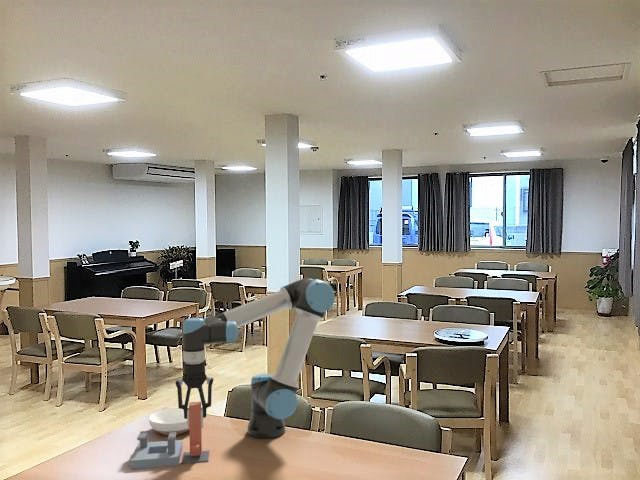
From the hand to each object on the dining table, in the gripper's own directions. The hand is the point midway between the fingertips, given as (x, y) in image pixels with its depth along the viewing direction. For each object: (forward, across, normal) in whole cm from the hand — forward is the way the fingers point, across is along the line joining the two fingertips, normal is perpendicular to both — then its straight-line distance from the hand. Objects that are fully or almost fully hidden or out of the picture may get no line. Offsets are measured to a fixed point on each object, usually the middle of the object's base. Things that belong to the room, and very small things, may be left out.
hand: (195, 426), depth 204 cm
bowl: (+11, -11, +30) cm, 34 cm away
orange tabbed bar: (+10, 0, 0) cm, 10 cm away
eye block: (+11, -14, +2) cm, 18 cm away
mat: (+11, 0, 0) cm, 11 cm away
